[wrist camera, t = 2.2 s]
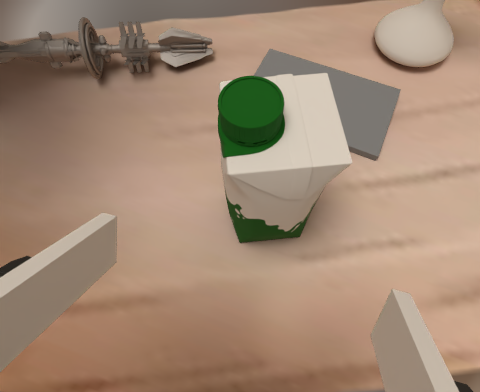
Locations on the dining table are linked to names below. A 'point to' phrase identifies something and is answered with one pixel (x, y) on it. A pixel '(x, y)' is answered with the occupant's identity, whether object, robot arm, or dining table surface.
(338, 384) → the dining table surface
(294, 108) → the soya milk
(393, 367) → the robot arm
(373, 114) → the slate mat
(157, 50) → the spaceship
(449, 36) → the flower in vase
